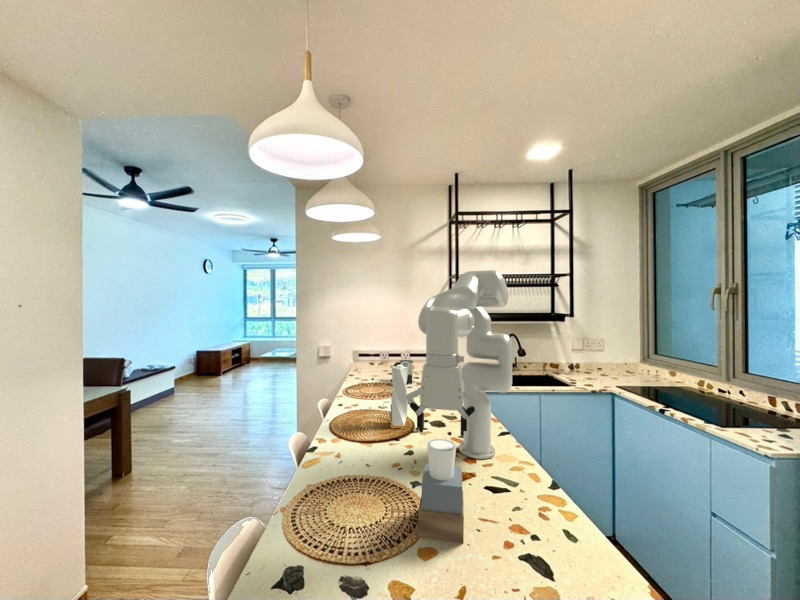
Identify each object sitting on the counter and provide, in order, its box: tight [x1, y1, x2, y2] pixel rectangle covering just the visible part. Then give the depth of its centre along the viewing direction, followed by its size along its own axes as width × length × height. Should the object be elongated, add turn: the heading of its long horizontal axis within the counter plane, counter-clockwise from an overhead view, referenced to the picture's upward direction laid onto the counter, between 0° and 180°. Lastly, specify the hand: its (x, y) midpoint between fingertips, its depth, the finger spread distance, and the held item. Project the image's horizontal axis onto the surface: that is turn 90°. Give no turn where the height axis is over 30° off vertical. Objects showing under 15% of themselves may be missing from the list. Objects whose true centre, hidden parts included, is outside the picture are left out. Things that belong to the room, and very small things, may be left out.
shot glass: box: [426, 438, 457, 480], centre depth 76 cm, size 7×7×7 cm
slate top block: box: [421, 463, 463, 515], centre depth 76 cm, size 9×9×6 cm
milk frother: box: [390, 359, 414, 384], centre depth 214 cm, size 14×16×15 cm
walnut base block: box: [417, 490, 465, 545], centre depth 76 cm, size 10×10×6 cm
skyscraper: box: [389, 361, 410, 426], centre depth 139 cm, size 8×8×28 cm
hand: (441, 432), depth 77 cm, fingers open, 9 cm apart
